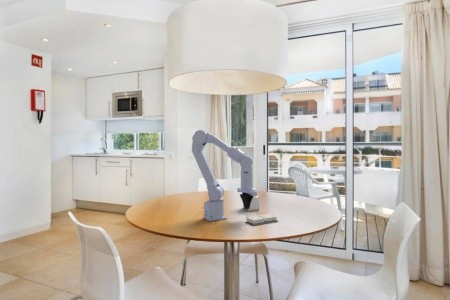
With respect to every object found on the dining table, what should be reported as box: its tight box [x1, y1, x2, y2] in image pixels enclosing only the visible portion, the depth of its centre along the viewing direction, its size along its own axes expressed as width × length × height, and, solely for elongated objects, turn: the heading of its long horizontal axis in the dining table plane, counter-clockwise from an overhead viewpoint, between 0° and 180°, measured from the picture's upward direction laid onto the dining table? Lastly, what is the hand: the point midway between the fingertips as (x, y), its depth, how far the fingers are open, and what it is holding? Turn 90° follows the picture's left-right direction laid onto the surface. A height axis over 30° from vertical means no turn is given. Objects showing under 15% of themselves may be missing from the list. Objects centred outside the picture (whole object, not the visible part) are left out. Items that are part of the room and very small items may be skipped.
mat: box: [245, 219, 279, 227], centre depth 132 cm, size 14×6×1 cm, turn 119°
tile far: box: [258, 213, 278, 222], centre depth 135 cm, size 6×2×6 cm
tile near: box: [245, 215, 265, 224], centre depth 132 cm, size 6×2×6 cm
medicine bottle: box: [242, 186, 261, 212], centre depth 160 cm, size 7×7×12 cm
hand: (246, 208), depth 138 cm, fingers closed
